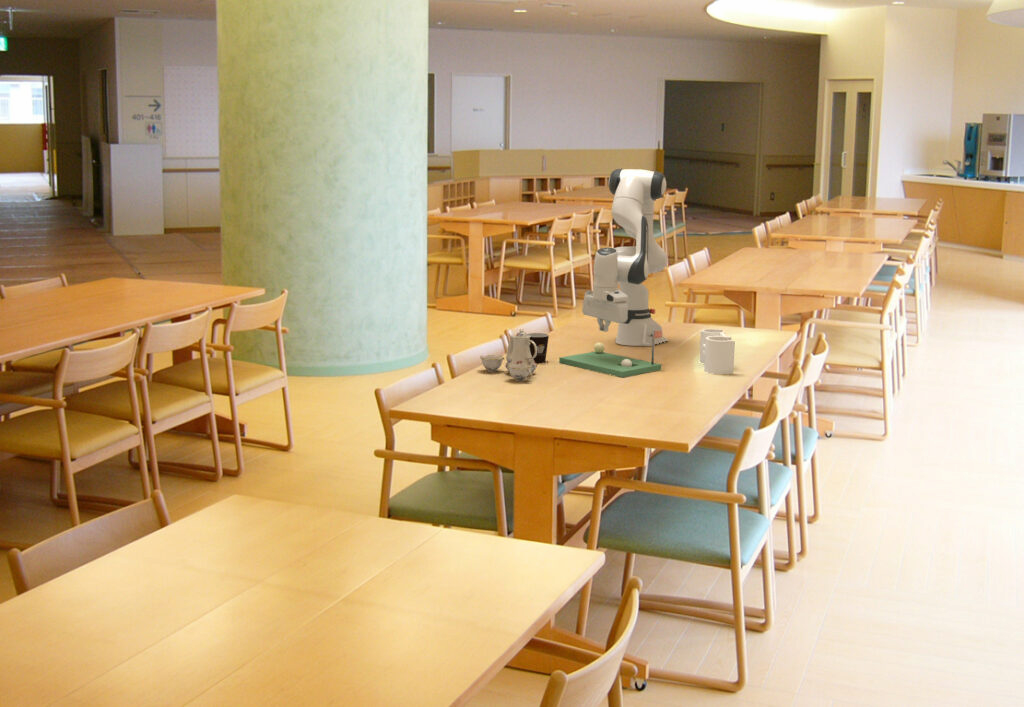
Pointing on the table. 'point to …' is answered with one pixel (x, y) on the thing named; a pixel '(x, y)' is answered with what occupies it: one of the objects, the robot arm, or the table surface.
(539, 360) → the coffee mug
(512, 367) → the chinaware
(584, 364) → the green
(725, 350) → the cylindrical containers
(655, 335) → the pin
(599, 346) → the ball
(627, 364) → the ball
